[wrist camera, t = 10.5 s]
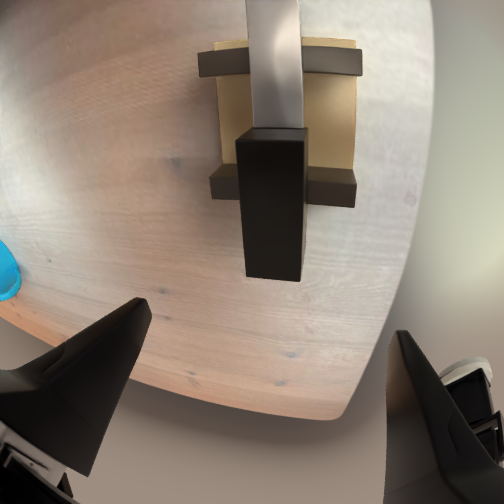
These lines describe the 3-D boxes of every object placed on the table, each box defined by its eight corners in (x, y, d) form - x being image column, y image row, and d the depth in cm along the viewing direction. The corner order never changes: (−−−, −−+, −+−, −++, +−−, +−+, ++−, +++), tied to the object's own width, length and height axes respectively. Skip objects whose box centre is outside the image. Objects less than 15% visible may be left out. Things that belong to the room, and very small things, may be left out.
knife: (305, 247, 17) (300, 282, 14) (258, 243, 18) (245, 277, 15) (303, -6, 9) (297, -27, 7) (243, -3, 10) (222, -20, 7)
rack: (218, 43, 14) (195, 38, 11) (354, 42, 13) (361, 34, 10) (230, 189, 20) (213, 211, 17) (348, 196, 18) (352, 221, 15)
